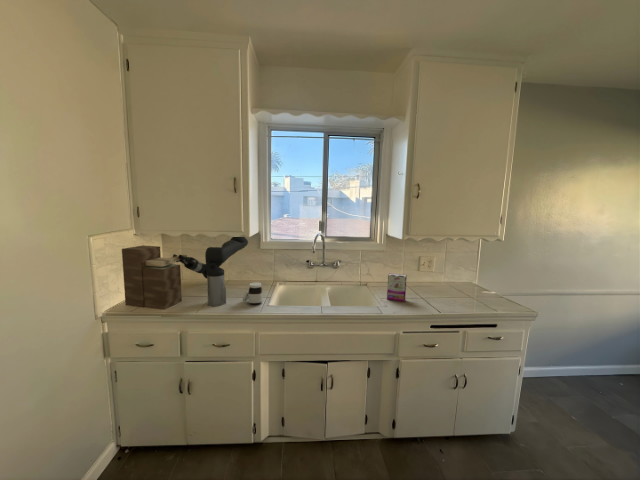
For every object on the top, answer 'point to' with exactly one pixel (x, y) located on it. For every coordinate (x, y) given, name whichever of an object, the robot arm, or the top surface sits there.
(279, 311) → the top surface
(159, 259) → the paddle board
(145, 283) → the two-tone wooden block
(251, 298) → the spread jar
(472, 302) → the top surface
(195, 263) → the robot arm
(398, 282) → the candy bar box
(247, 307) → the top surface
